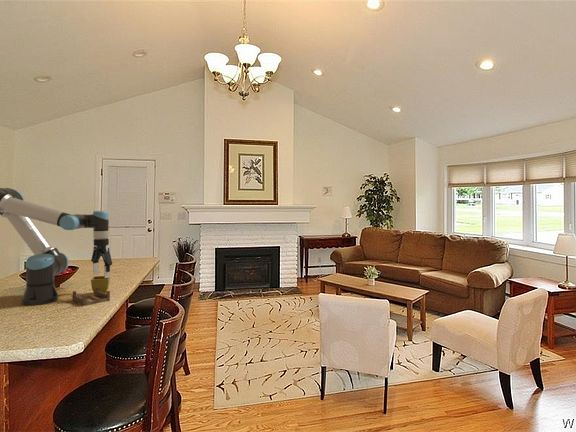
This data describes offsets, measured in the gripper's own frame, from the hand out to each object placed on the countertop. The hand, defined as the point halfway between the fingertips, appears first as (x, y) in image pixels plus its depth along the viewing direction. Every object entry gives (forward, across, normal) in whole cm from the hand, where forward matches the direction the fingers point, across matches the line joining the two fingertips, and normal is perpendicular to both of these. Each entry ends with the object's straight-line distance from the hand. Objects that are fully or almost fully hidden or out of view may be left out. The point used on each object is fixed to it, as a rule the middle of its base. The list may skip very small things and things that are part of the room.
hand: (101, 276), depth 194 cm
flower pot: (+10, 0, 0) cm, 10 cm away
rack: (+10, -12, +10) cm, 18 cm away
